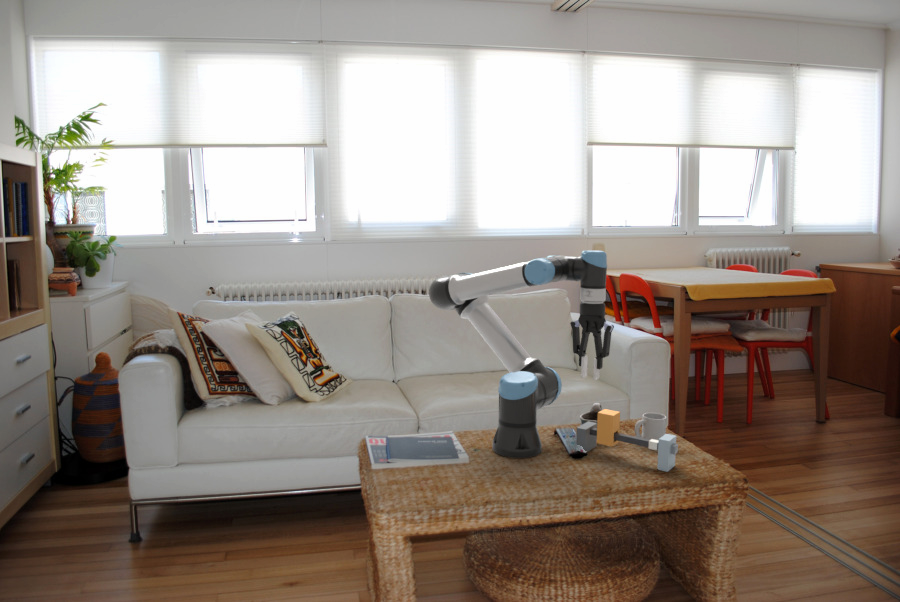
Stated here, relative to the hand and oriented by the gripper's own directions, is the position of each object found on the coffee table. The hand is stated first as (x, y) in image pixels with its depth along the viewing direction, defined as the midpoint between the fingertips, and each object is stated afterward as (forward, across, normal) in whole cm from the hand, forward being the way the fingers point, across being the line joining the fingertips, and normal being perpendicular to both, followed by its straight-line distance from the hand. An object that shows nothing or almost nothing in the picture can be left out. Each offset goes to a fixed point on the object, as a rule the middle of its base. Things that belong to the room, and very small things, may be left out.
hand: (590, 377), depth 202 cm
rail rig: (+23, +12, 0) cm, 26 cm away
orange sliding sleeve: (+19, +7, 0) cm, 20 cm away
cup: (+23, +13, +17) cm, 31 cm away
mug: (+23, -4, +13) cm, 27 cm away
